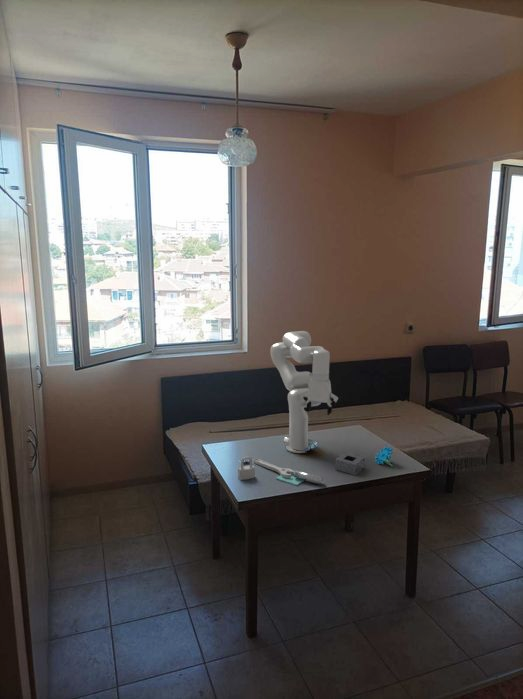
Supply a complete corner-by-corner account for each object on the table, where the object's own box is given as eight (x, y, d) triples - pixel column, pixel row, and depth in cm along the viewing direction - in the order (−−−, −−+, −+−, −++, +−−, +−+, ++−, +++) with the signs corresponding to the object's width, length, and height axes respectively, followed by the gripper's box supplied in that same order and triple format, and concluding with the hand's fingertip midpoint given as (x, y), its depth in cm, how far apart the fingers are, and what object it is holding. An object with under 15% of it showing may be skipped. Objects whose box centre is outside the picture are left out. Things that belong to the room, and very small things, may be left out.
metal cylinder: (293, 476, 217) (319, 484, 212) (295, 469, 218) (321, 476, 214) (295, 478, 220) (321, 485, 215) (297, 470, 221) (323, 477, 216)
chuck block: (335, 469, 230) (335, 459, 229) (344, 462, 238) (345, 452, 237) (354, 475, 224) (355, 464, 223) (364, 467, 232) (364, 457, 231)
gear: (372, 455, 242) (387, 442, 240) (379, 462, 243) (395, 449, 241) (377, 467, 232) (393, 454, 229) (385, 475, 233) (401, 462, 231)
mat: (276, 479, 220) (276, 477, 220) (289, 470, 228) (289, 469, 228) (297, 485, 213) (297, 484, 213) (310, 476, 222) (310, 475, 222)
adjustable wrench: (252, 462, 237) (252, 459, 237) (262, 459, 241) (262, 455, 241) (286, 479, 218) (286, 475, 218) (297, 475, 222) (297, 471, 222)
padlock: (240, 481, 218) (240, 459, 216) (237, 477, 222) (237, 456, 220) (255, 478, 221) (255, 457, 219) (252, 474, 224) (252, 453, 223)
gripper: (299, 376, 225) (298, 412, 229) (336, 381, 218) (334, 418, 222) (305, 372, 232) (304, 407, 236) (341, 377, 225) (339, 412, 229)
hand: (319, 412), depth 229 cm, fingers open, 9 cm apart
